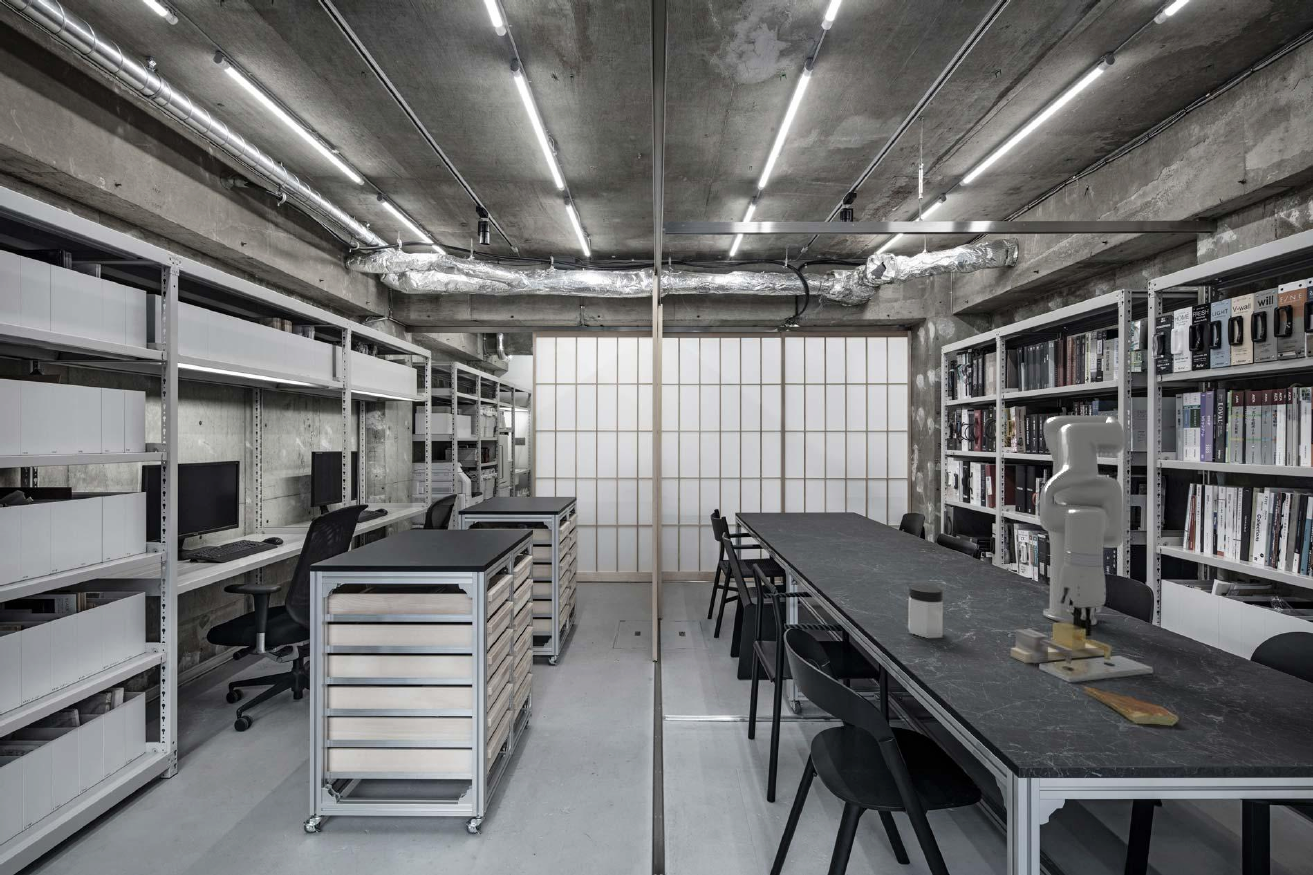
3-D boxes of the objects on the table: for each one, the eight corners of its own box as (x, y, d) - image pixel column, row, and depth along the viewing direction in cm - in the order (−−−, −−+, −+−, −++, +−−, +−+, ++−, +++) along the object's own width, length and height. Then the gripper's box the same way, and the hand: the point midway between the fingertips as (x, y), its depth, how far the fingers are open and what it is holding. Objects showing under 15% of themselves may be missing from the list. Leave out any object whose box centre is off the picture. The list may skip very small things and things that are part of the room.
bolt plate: (1119, 660, 131) (1119, 655, 131) (1152, 672, 124) (1152, 667, 124) (1039, 668, 125) (1039, 663, 125) (1069, 682, 118) (1069, 676, 118)
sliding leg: (1065, 641, 137) (1065, 622, 137) (1116, 660, 125) (1116, 639, 125) (1052, 642, 136) (1052, 623, 136) (1102, 661, 124) (1103, 640, 125)
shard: (1082, 693, 114) (1082, 682, 114) (1130, 695, 114) (1130, 685, 114) (1131, 725, 101) (1132, 713, 101) (1186, 728, 100) (1186, 717, 100)
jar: (948, 634, 147) (949, 589, 147) (935, 641, 141) (935, 594, 142) (915, 625, 154) (916, 582, 154) (901, 631, 148) (901, 586, 148)
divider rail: (1085, 648, 139) (1086, 624, 139) (1137, 667, 127) (1138, 641, 127) (1008, 655, 133) (1009, 630, 133) (1056, 676, 121) (1056, 649, 121)
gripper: (1091, 555, 141) (1089, 627, 141) (1045, 557, 137) (1043, 631, 137) (1122, 561, 133) (1121, 637, 133) (1074, 563, 130) (1073, 642, 130)
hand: (1082, 634), depth 135 cm, fingers closed
